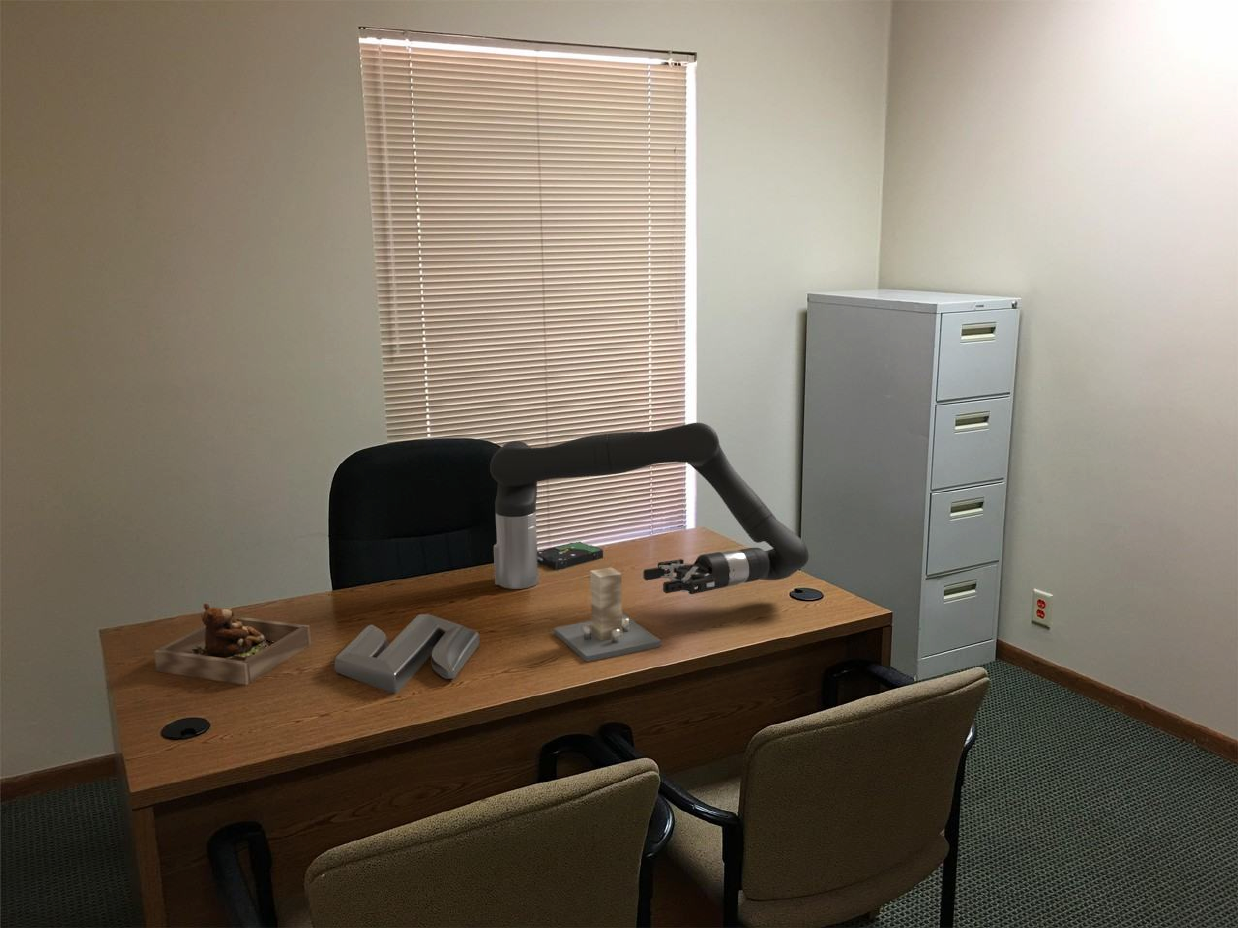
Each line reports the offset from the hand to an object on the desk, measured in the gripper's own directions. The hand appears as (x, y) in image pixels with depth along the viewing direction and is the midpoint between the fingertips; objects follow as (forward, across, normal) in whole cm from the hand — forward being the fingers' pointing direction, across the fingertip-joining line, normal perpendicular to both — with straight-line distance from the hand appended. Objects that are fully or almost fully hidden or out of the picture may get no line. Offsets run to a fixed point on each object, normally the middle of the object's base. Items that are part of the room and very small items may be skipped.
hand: (653, 581), depth 202 cm
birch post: (+11, 0, +9) cm, 14 cm away
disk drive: (-3, -51, +11) cm, 52 cm away
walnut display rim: (+78, -25, +11) cm, 83 cm away
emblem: (+48, -9, +11) cm, 51 cm away
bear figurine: (+79, -26, +11) cm, 84 cm away
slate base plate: (+11, 0, +10) cm, 15 cm away
